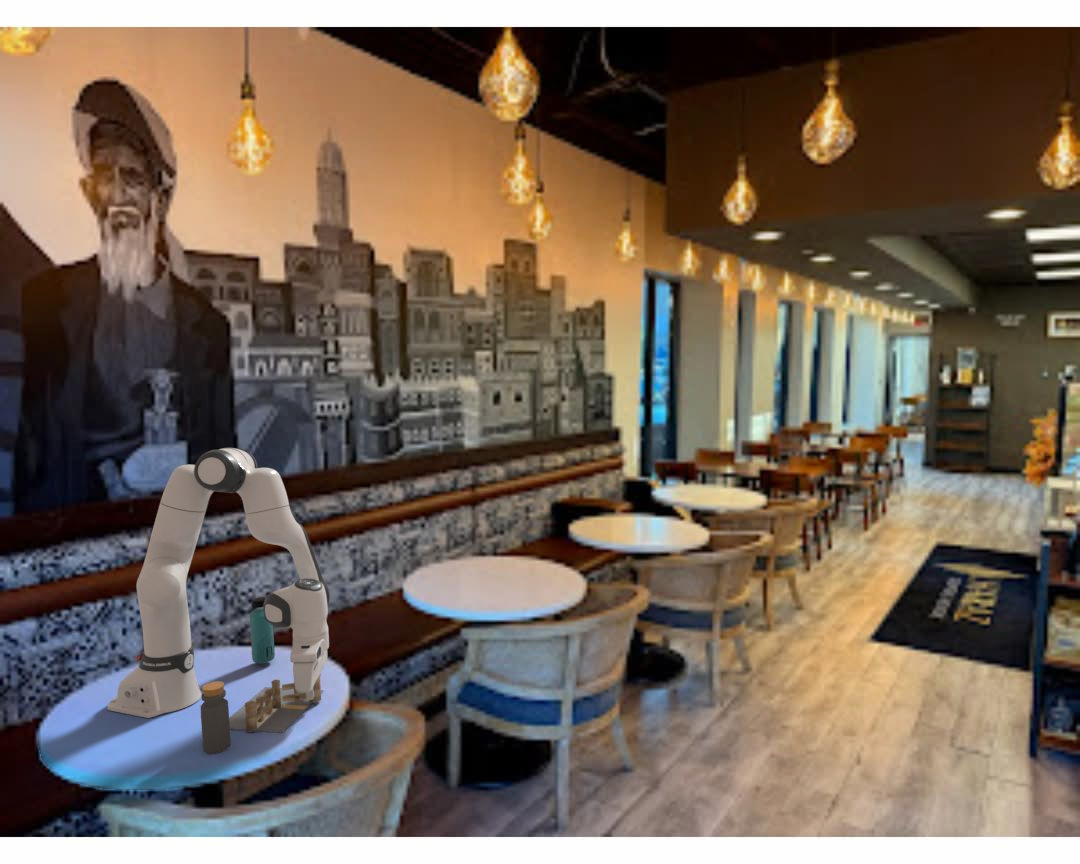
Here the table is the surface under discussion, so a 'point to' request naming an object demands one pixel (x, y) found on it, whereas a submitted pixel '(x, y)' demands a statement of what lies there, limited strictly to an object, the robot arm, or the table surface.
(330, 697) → the table surface
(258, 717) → the fence fixed
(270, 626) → the beverage bottle
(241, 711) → the card
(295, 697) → the fence gate
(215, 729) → the bottle
